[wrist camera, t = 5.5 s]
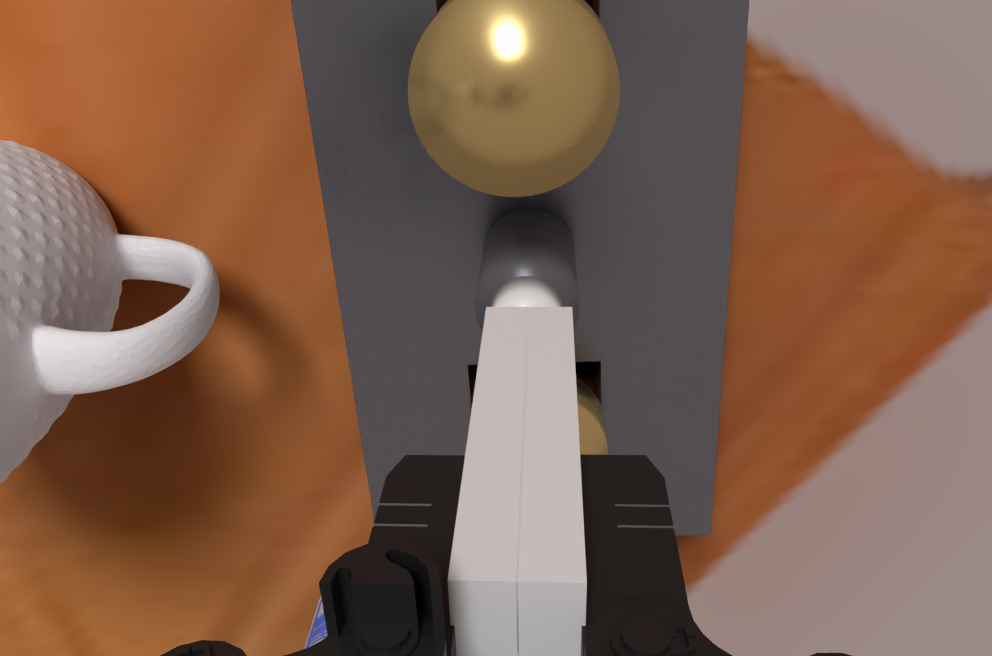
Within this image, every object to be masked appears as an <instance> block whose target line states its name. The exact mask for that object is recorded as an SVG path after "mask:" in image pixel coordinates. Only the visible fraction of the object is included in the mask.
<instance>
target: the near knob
mask: <svg viewBox="0 0 992 656" xmlns="http://www.w3.org/2000/svg"><path fill="white" fill-rule="evenodd" d="M619 99H620V80H619V72H618V67H617V62H616V59H615V56H614V53H613V50H612V47H611V45H610V42H609V40H608V37H607V34H606V32H605V30H604V28H603V26H602V24H601V22H600V20H599V18H598V17H597V15H596V14H595V12H594V11H593V9H592V8H591V7H590V6H589V5H588V3H587V2H586V1H585V0H448V1H447V2H446V3H445V4H444V5H443V6H442V8H441V9H440V10H439V12H438V13H437V15H436V16H435V17H434V19H433V20H432V22H431V23H430V24H429V26H428V27H427V29H426V30H425V32H424V33H423V35H422V37H421V39H420V41H419V42H418V44H417V46H416V49H415V52H414V55H413V57H412V61H411V65H410V70H409V76H408V103H409V109H410V115H411V118H412V121H413V125H414V128H415V130H416V132H417V135H418V137H419V139H420V141H421V143H422V144H423V146H424V148H425V149H426V151H427V152H428V154H429V155H430V156H431V157H432V159H433V160H434V161H435V162H436V163H437V164H438V165H439V166H440V167H441V168H442V169H443V170H444V171H445V172H446V173H448V174H449V175H450V176H452V177H453V178H454V179H456V180H457V181H459V182H461V183H463V184H464V185H466V186H468V187H470V188H473V189H475V190H477V191H480V192H484V193H487V194H491V195H497V196H503V197H523V196H532V195H536V194H541V193H545V192H547V191H550V190H553V189H555V188H558V187H560V186H562V185H563V184H565V183H567V182H569V181H570V180H572V179H573V178H575V177H576V176H578V175H579V174H580V173H581V172H583V171H584V170H585V169H586V168H587V167H588V166H589V165H590V164H591V163H592V162H593V161H594V159H595V158H596V157H597V156H598V155H599V153H600V152H601V150H602V149H603V147H604V146H605V144H606V142H607V140H608V138H609V136H610V134H611V132H612V129H613V127H614V124H615V121H616V117H617V112H618V108H619Z"/></svg>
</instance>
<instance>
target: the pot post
mask: <svg viewBox="0 0 992 656" xmlns="http://www.w3.org/2000/svg"><path fill="white" fill-rule="evenodd" d="M486 307H572V312H573V329H574V327H575V325H576V323H577V320H578V316H579V296H578V285H577V273H576V261H575V250H574V243H573V239H572V236H571V234H570V232H569V230H568V229H567V227H566V226H565V225H564V224H563V223H562V222H561V221H560V220H559V219H557V218H556V217H555V216H553V215H551V214H549V213H547V212H544V211H540V210H535V209H523V210H517V211H514V212H511V213H509V214H507V215H505V216H503V217H502V218H500V219H499V220H498V221H497V222H496V223H495V224H494V225H493V226H492V227H491V229H490V230H489V232H488V234H487V236H486V238H485V242H484V247H483V254H482V260H481V267H480V273H479V280H478V286H477V293H476V300H475V314H476V319H477V322H478V324H479V326H480V328H481V330H482V331H483V326H484V319H485V311H486Z"/></svg>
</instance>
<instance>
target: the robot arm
mask: <svg viewBox="0 0 992 656" xmlns="http://www.w3.org/2000/svg"><path fill="white" fill-rule="evenodd" d="M379 503H380V504H379V506H378V509H377V512H376V516H375V520H374V527H372V531H371V535H370V539H369V542H368V544H366V545H363V546H361V547H358V548H356V549H353V550H351V551H348V552H346V553H345V554H343V555H342V556H341V557H340V558H338V559H337V560H336V561H335V562H333V563H332V564H331V565H330V566H329V567H328V568H327V570H326V572H325V573H324V575H323V577H322V579H321V580H320V582H319V586H320V592H321V598H322V604H323V610H324V616H325V622H326V629H327V635H328V636H327V637H326V638H325V639H323V640H321V641H319V642H318V643H316V644H314V645H312V646H310V647H309V648H306V649H303V650H300V651H297V652H295V653H292V654H288V655H284V656H732V655H730V654H728V653H727V652H725V651H723V650H722V649H720V648H718V647H717V646H716V645H714V644H713V643H712V642H711V641H710V640H709V639H708V638H707V637H706V636H705V635H704V634H703V633H702V632H701V631H700V629H699V628H698V626H697V625H696V623H695V622H694V620H693V618H692V615H691V612H690V609H689V606H688V600H687V595H686V590H685V584H684V579H683V574H682V568H681V563H680V558H679V552H678V547H677V542H676V537H675V531H674V529H673V521H672V515H671V510H670V508H669V499H668V494H667V489H666V484H665V478H664V476H663V475H662V474H661V473H660V472H659V470H658V469H657V468H656V467H655V466H654V464H653V463H652V462H651V461H650V460H649V458H648V457H647V456H646V455H586V454H580V443H579V424H578V406H577V387H576V368H575V349H574V330H573V312H572V307H486V311H485V319H484V326H483V333H482V340H481V347H480V354H479V361H478V368H477V375H476V382H475V389H474V396H473V403H472V410H471V417H470V424H469V432H468V439H467V446H466V453H465V455H405V456H404V457H403V458H402V459H401V461H400V462H399V463H398V464H397V465H396V466H395V467H394V468H393V469H392V470H391V472H390V473H389V474H388V475H387V476H386V479H385V482H384V486H383V490H382V494H381V497H380V501H379ZM161 656H247V655H246V654H245V653H244V651H243V650H242V649H240V648H238V647H235V646H233V645H231V644H229V643H227V642H225V641H207V640H202V641H197V642H193V643H189V644H185V645H181V646H178V647H176V648H174V649H172V650H170V651H168V652H166V653H165V654H163V655H161ZM811 656H851V655H847V654H844V653H816V654H813V655H811Z"/></svg>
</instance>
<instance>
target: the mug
mask: <svg viewBox="0 0 992 656" xmlns="http://www.w3.org/2000/svg"><path fill="white" fill-rule="evenodd" d="M126 279H141V280H154V281H161V282H166V283H172V284H177V285H180V286H185V287H187V288H189V289H191V290H190V291H189V293H188V294H187V295H186V297H185V298H184V299H183V300H182V301H181V302H180V303H179V304H177V305H176V306H175V307H173V308H172V309H171V310H169V311H168V312H166V313H165V314H163V315H162V316H160V317H158V318H156V319H154V320H152V321H150V322H148V323H146V324H143V325H140V326H137V327H134V328H131V329H126V330H121V331H114V332H110V331H111V329H112V328H113V323H114V317H115V315H116V312H117V310H118V308H119V298H120V295H121V292H122V281H123V280H126ZM219 300H220V287H219V280H218V276H217V272H216V269H215V267H214V265H213V263H212V262H211V261H210V259H209V258H208V257H207V255H206V254H205V253H204V252H202V251H200V250H199V249H197V248H195V247H192V246H190V245H188V244H185V243H181V242H177V241H172V240H167V239H163V238H155V237H147V236H135V235H124V234H118V231H117V228H116V225H115V222H114V220H113V218H112V216H111V213H110V211H109V209H108V208H107V206H106V204H105V203H104V201H103V200H102V199H101V197H100V196H99V195H98V194H97V192H96V191H95V190H94V189H93V187H92V186H91V185H90V184H89V183H88V182H87V181H86V180H85V179H83V178H82V177H81V176H80V175H79V174H77V173H76V172H75V171H74V170H73V169H71V168H70V167H68V166H67V165H65V164H64V163H62V162H61V161H59V160H57V159H55V158H53V157H51V156H49V155H47V154H45V153H43V152H41V151H38V150H35V149H32V148H30V147H26V146H23V145H20V144H18V143H16V142H13V141H2V140H0V484H1V483H2V482H4V481H5V480H6V479H7V478H8V476H9V474H10V473H11V472H12V471H13V470H14V469H15V468H16V467H17V466H19V465H20V464H21V463H22V461H23V460H25V459H26V458H27V456H28V455H29V453H30V451H31V449H32V448H33V447H34V446H35V444H36V443H38V442H39V441H40V440H41V439H42V438H43V437H44V436H45V434H47V433H48V431H49V429H50V427H51V425H52V424H53V423H54V421H55V420H56V419H57V418H58V417H60V416H61V415H62V414H63V412H64V411H65V409H66V408H67V406H68V403H69V402H70V400H71V399H72V397H73V396H74V395H75V394H85V393H92V392H98V391H104V390H108V389H112V388H116V387H120V386H124V385H127V384H130V383H133V382H136V381H139V380H142V379H145V378H147V377H149V376H151V375H154V374H156V373H158V372H160V371H162V370H164V369H165V368H167V367H169V366H171V365H173V364H174V363H176V362H177V361H179V360H180V359H182V358H183V357H185V356H186V355H187V354H188V353H190V352H191V351H192V350H193V349H195V348H196V347H197V346H198V344H199V343H200V342H201V341H202V340H203V339H204V338H205V336H206V335H207V334H208V332H209V330H210V329H211V327H212V325H213V323H214V321H215V318H216V315H217V312H218V308H219Z"/></svg>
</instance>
